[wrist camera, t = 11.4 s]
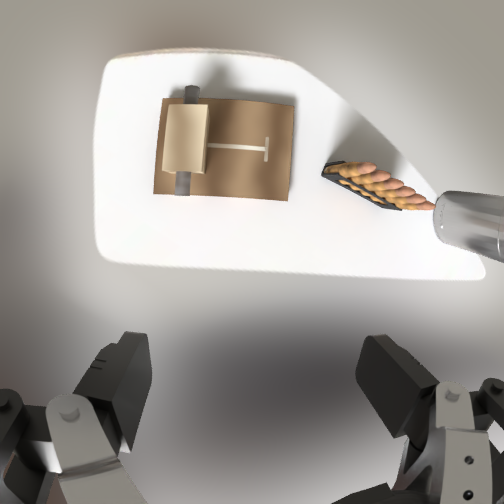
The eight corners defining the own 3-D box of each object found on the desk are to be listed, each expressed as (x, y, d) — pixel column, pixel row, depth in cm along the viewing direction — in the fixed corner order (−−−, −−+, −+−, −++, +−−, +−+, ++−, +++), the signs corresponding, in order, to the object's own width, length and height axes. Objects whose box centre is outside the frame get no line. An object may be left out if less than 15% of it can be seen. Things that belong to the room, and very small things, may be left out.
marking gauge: (212, 98, 28) (210, 83, 24) (203, 195, 31) (199, 196, 26) (179, 98, 28) (172, 83, 23) (170, 194, 30) (160, 195, 26)
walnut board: (290, 110, 31) (294, 106, 29) (284, 200, 34) (287, 201, 32) (165, 103, 30) (162, 98, 28) (157, 193, 32) (153, 194, 30)
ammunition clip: (387, 196, 35) (443, 202, 24) (382, 208, 36) (438, 218, 24) (325, 163, 33) (370, 152, 22) (320, 175, 34) (364, 170, 22)
